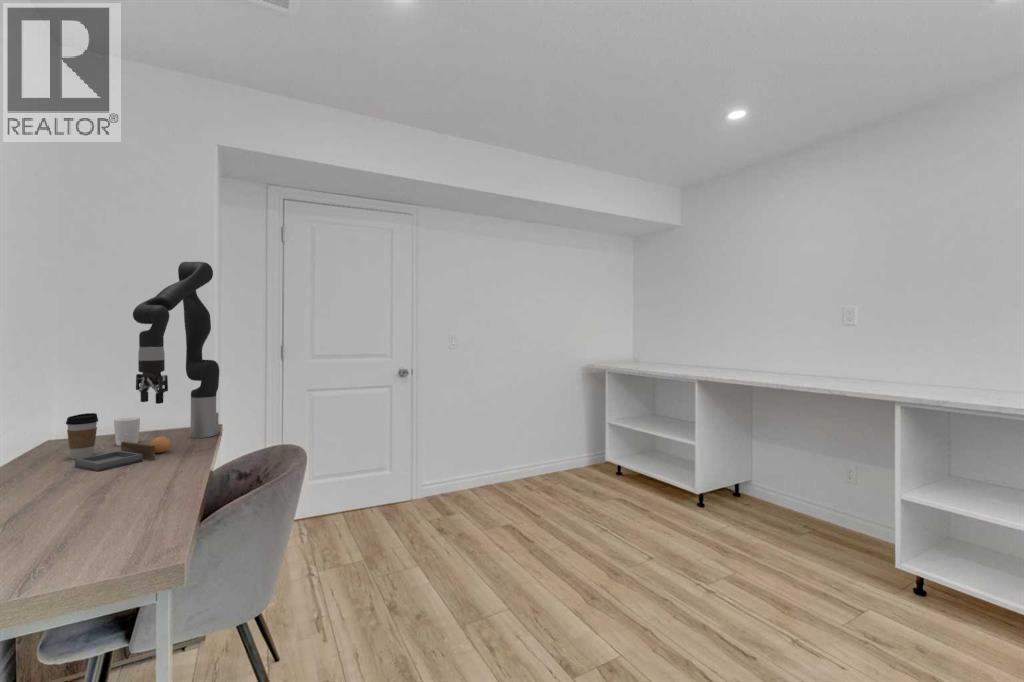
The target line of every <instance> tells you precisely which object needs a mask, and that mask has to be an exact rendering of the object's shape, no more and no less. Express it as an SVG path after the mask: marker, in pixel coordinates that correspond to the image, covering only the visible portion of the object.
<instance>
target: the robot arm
mask: <svg viewBox="0 0 1024 682" xmlns="http://www.w3.org/2000/svg"><path fill="white" fill-rule="evenodd" d="M177 271H178V272H177V274H178V275H177V276H178V281H177V282H175V283H172V284H170V285H168V286H166V287H165V288H163V289H162V290H161V291H160V292H158V293H157V294H156V295H155V296H154V297H151V298H149V299H147V300H144V301H143V302H141V303H139V304H138V305H137V306H136V307H135V308H134V309H133V311H132V318H133V320H134V321H135V322H136V323H139V324H142V325H151V326H150V328H149V329H147V330H142V331H140V332H139V336H138V340H139V343H138V346H139V348H138V353H137V354H138V355H137V356H138V357H137V361H138V362H137V363H138V364H137V365H138V366H137V367H138V369H137V370H138V372H139V373H136V375H135V390H136V391H139V393H140V402H141V403H147V402H149V390H150V388H151V389H153V391H154V393H155V405H156V404H158V405H159V404H163V403H164V393H165V392H169V380H168V375H167V374H165V375H162V372H164V371H165V369H166V368H165V367H166V366H165V361H166V359H165V358H166V357H165V349H164V345H165V344H164V343H165V342H164V340H165V338H164V336H165V333H166V329H167V326H168V323H169V321H170V311H172V310H173V309H175V308H176V307H177V306H178V305H179V304H180V303H181V302H182V305H183V318H184V321H183V322H184V330H185V343H186V345H185V346H186V349H185V351H186V352H185V353H186V354H185V371H186V376H187V378H188V379H189V380H190V381H194V382H195V381H196V382H197V381H198V382H200V386H198V387H197V388H195V389H192V390H191V391H190V433H189V435H190V438H193V439H194V438H195V439H201V438H209V437H213V436H214V437H215V436H217V435H218V434H219V417H220V416H219V412H217V393H218V390H219V385H220V384H219V383H220V365H219V364H218V362H217V361H216V360H213V359H203V348H204V344H205V343H206V340H208V337H209V335H210V333H211V330H212V324H211V323H212V322H211V315H210V311H209V310H208V308H207V307H206V306H205V304H204V303H203V302H202V300H201V299H200V297H199V295H198V294H197V290H198V289H200V288H201V287H203V286H205V285H207V284H208V283H209V282H211V280H212V279H213V276H214V271H213V268H212V266H211V264H209V263H208V262H204V261H182V262H181V263H179V264H178V269H177Z"/></svg>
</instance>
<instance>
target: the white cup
mask: <svg viewBox="0 0 1024 682" xmlns="http://www.w3.org/2000/svg"><path fill="white" fill-rule="evenodd" d="M113 422H114V425H113V426H114V438H115V445H116V446H120V447H121V442H124V441H126V442H133V443H139V435H140V425H141V423H140V422H141V417H138V416H137V417H136V416H134V417H133V416H132V417H120V418H119V417H118V418H115V419H114V420H113Z"/></svg>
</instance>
